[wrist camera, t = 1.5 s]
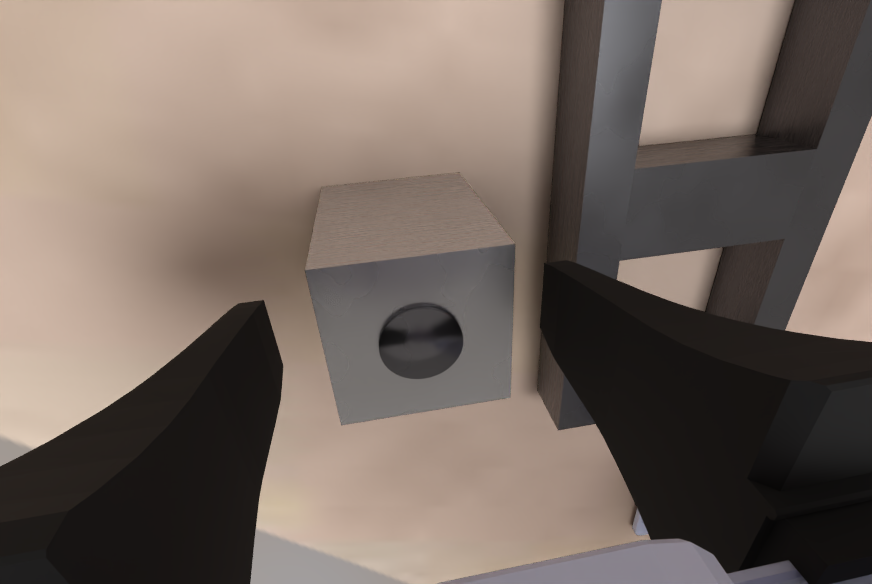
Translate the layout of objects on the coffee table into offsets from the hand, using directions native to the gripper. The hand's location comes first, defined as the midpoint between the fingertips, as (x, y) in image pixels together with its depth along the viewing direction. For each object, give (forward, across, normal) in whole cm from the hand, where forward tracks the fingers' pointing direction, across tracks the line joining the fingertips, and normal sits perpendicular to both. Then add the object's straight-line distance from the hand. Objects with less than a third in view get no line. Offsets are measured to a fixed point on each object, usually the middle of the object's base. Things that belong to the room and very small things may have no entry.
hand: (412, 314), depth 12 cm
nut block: (+5, 0, 0) cm, 5 cm away
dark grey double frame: (+5, -10, -1) cm, 11 cm away
